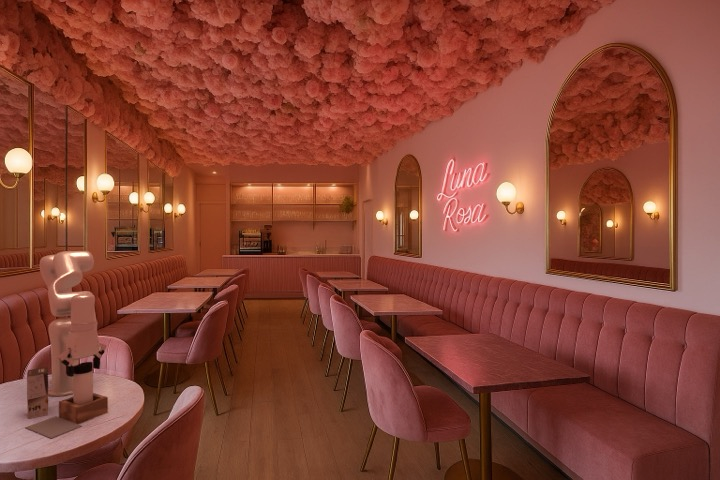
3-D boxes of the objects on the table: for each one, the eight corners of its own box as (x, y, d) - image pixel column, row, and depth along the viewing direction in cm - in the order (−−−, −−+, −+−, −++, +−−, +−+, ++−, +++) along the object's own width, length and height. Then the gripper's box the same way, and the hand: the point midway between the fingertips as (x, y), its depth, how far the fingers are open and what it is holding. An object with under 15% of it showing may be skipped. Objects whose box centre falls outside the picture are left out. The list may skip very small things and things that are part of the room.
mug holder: (59, 417, 160) (58, 401, 160) (88, 406, 170) (88, 391, 169) (78, 424, 154) (78, 407, 154) (107, 412, 164) (107, 397, 164)
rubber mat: (25, 428, 151) (25, 427, 151) (56, 417, 160) (56, 416, 160) (51, 439, 144) (51, 437, 144) (81, 426, 153) (81, 425, 153)
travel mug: (84, 419, 158) (83, 366, 158) (69, 417, 160) (68, 364, 159) (97, 412, 164) (97, 360, 164) (83, 410, 166) (82, 359, 165)
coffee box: (48, 414, 162) (48, 373, 161) (27, 419, 158) (26, 376, 157) (48, 406, 169) (47, 366, 168) (27, 410, 165) (27, 369, 165)
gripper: (99, 321, 170) (100, 364, 171) (52, 330, 155) (53, 377, 155) (111, 323, 167) (112, 367, 167) (64, 333, 151) (65, 380, 152)
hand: (83, 372), depth 161 cm, fingers open, 9 cm apart
